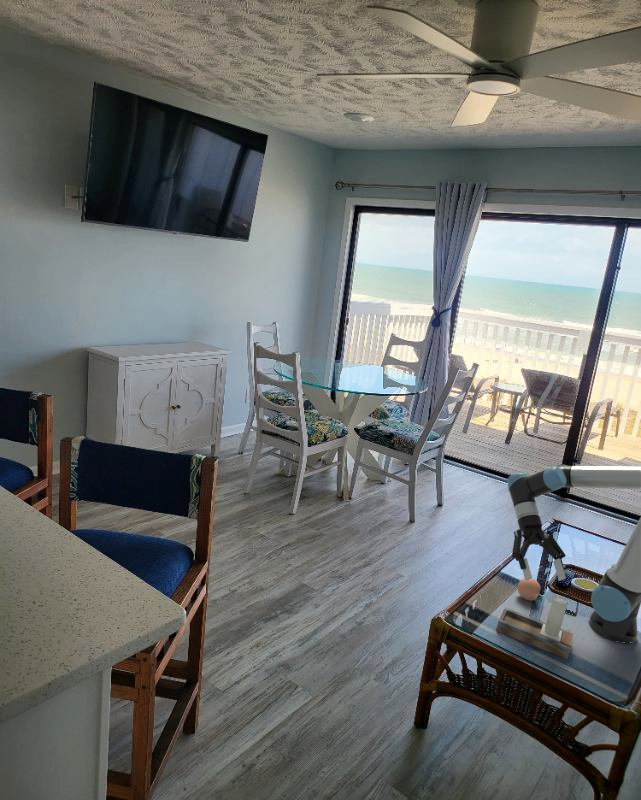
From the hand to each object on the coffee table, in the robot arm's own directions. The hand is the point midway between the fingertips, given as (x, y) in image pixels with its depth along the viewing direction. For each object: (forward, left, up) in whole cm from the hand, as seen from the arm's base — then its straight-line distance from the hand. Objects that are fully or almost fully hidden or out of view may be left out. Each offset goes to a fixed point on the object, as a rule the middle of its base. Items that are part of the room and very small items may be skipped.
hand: (545, 579), depth 200 cm
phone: (-8, -28, -18) cm, 34 cm away
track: (-1, +6, -17) cm, 19 cm away
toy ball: (+5, -20, -18) cm, 27 cm away
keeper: (-6, +6, -15) cm, 17 cm away
